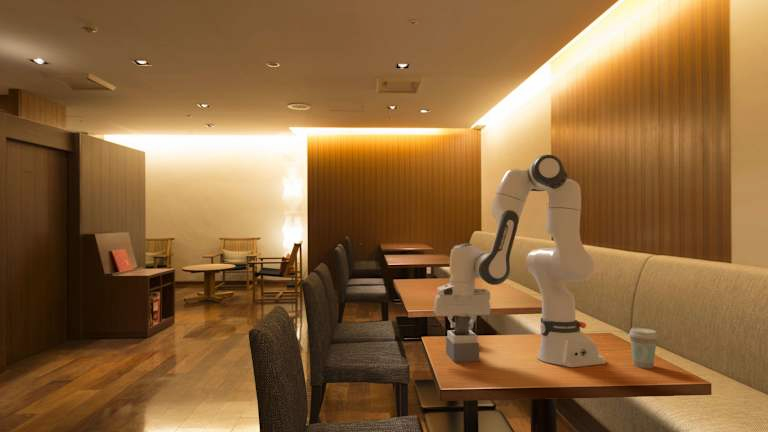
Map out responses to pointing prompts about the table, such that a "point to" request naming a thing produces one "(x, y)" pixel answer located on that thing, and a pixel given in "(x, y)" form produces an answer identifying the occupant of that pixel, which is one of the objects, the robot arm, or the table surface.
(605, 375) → the table surface
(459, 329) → the lens
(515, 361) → the table surface
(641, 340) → the coffee cup
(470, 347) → the camera body
